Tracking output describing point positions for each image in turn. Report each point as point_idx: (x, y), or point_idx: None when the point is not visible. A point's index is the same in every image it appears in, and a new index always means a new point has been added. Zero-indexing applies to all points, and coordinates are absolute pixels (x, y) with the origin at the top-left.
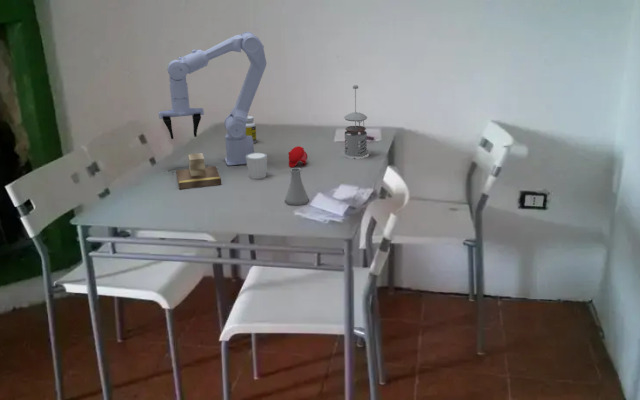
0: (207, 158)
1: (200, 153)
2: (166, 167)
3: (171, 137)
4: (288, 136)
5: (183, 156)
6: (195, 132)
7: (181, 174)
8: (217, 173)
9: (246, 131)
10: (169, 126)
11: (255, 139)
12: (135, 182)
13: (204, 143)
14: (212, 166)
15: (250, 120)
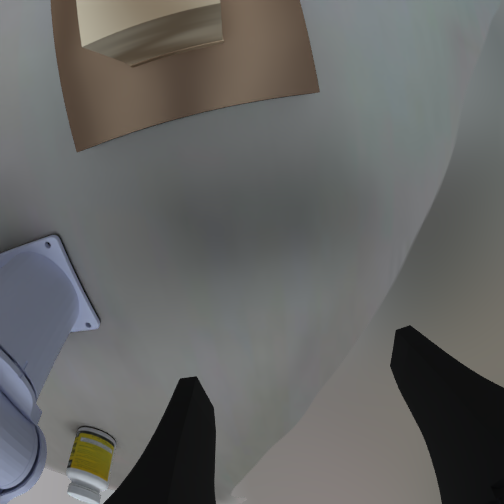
0: (181, 344)
1: (96, 32)
2: (365, 244)
3: (418, 333)
4: None
5: (290, 368)
6: (176, 409)
7: (273, 8)
8: (57, 27)
9: (86, 460)
10: (494, 403)
11: (75, 437)
12: (470, 67)
13: (228, 448)
14: (92, 145)
15: (71, 486)
